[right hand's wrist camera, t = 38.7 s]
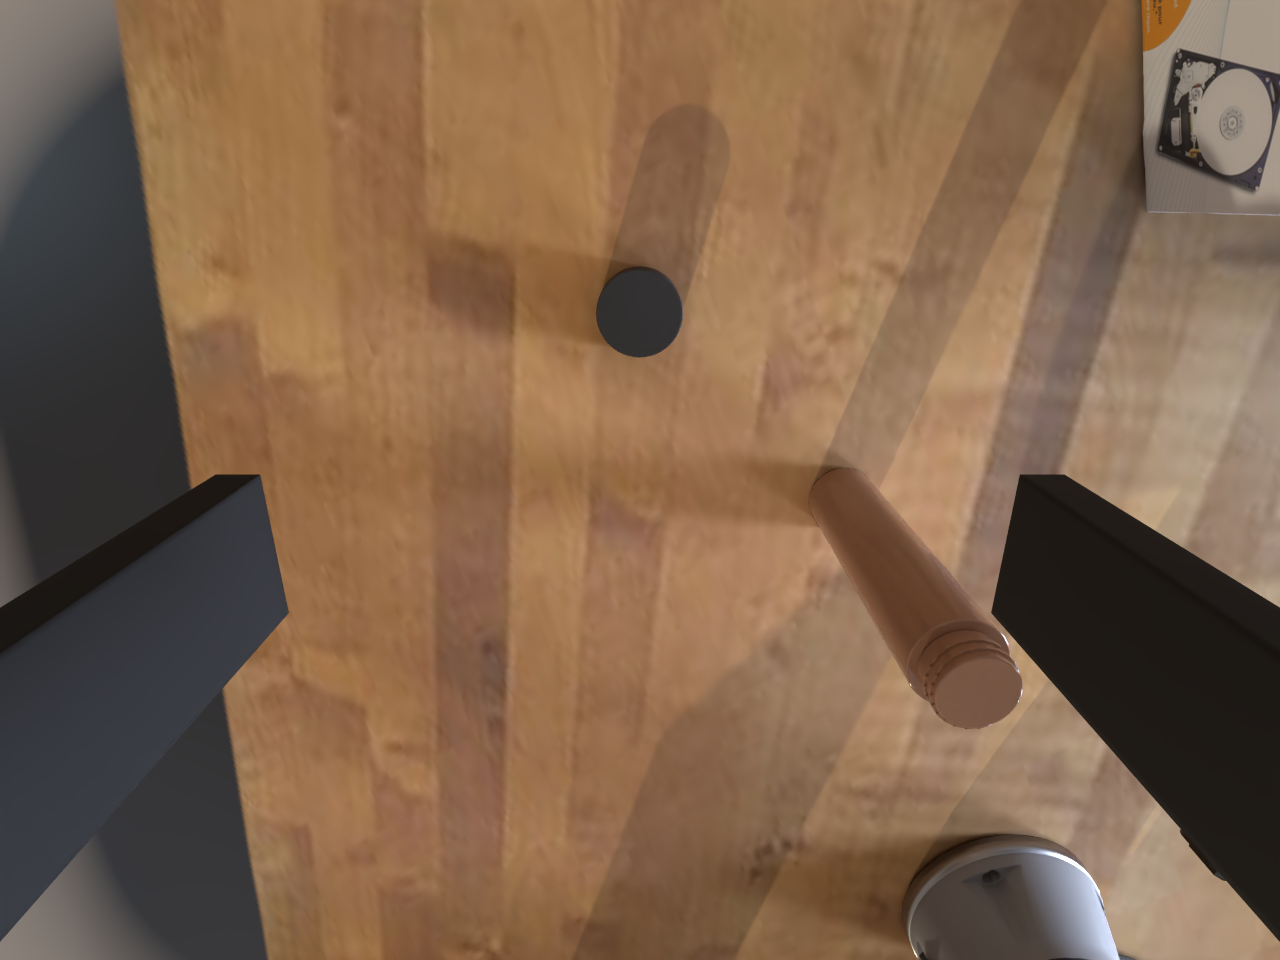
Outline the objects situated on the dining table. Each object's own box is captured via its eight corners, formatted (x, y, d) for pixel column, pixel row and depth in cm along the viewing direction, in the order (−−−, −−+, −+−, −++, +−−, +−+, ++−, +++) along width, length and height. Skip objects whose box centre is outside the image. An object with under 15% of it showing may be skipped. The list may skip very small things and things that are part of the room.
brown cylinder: (802, 477, 45) (916, 662, 26) (868, 460, 44) (1030, 635, 26) (815, 535, 46) (931, 748, 28) (879, 518, 46) (1040, 724, 27)
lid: (695, 324, 41) (697, 330, 39) (624, 365, 42) (624, 372, 40) (655, 250, 40) (655, 252, 38) (583, 293, 40) (580, 298, 38)
